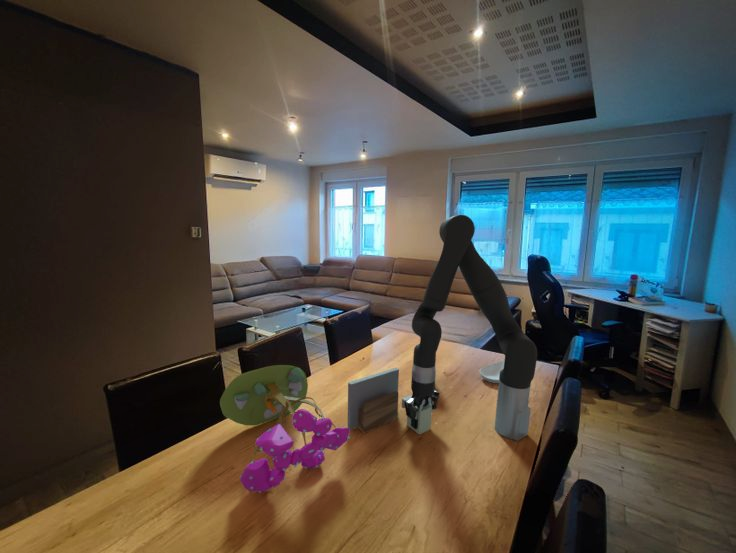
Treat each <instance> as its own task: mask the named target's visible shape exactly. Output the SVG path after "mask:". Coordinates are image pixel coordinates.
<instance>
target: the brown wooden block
mask: <svg viewBox="0 0 736 553" xmlns="http://www.w3.org/2000/svg"><path fill="white" fill-rule="evenodd" d="M398 413H399V391H398V392H397V391H395V392H392V393H390V394H387V395H384V396H381V397H379V398H376V399H373V400H370V401H368V402H365V403H363V407H362V408H360V409H358V427H357V428H358V429H359V430H360V431H361V432H362V433H363V434H365V433H367V432H371V431H373V430H375V429H377V428H379V427H381V426H384V425H386V424H387V425H388V423H390V422H393V421H396V420H398V418H399V417H398Z"/></svg>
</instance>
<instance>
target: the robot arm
mask: <svg viewBox="0 0 736 553" xmlns="http://www.w3.org/2000/svg"><path fill="white" fill-rule="evenodd" d="M438 230H439V236H440V239H441V241H442V242H443V246H442V251H441V252H440V257H439V259H438V262H437V264H436V266H435V268H434V270H433V272H432V274H431V276H430V278H429V281H428V283H427V286H426V289H425V292H424V295H423V299H422V302H420V304H419V305H418V308H417V310H416V312H414V315H413V317H412V320H411V329H412V331H413V333H414V334H415V335H416V336H418V337H419V339H420V342H419V343H418V344H416V345H415V346H414V348H413V355H412V356H413V357H412V358H413V360H412V367H411V382H410V384H411V385H410V386H411V387H410V390H411V391H412V392H411V393H412V394H411V395H412V397H411V399H410V400H409V401H407V400H405V401H404V404H405V408H404V409H405V416H408V417H409V418H411V426H412V427H413V428H414V429H417V428H418V416H419V413H420V411H422V408H423V407H424V406H427V405H428V406H429V407H432V411H431V414H432V413H433V410H436V409H437V406H438V402H439V398H440V392H438V390H436V376H437V374H436V372H437V369H436V362H437V361H436V360H437V358H436V357H437V351H438V349H439V345H440V342H441V338H442V333H443V332H442V327H441V324H440V322H439V321H438V320H436V319H435V316H436V314H437V312H438V313H439V312H443V311H444V309H445V307H446V305H447V301H448V298H449V295H450V292H451V290H452V287H453V286H452V285H453V282H454V280H455V276H456V274H457V271H458V269H459V270H460V273H461V275H462V276H463V279H464V281H465V283H466V284H467V287H468V289H469V291H470V293H471V295H472V297H473V299H474V301H475V303H476V304H477V306H478V307H479V309H480V310H481V312H482V313H483V315H484V317H485V318H486V319H487V321H488V322H489V324H490V325H491V327H492V331H493V332H494V334H495V337H496V340H497V343H498V345H499V348H500V350H501V352H502V353H503V355H504V359H505V361H504V369H502V370H501V371H500V376H499V383H498V388H497V396H496V397H497V399H496V408H495V409H496V410H495V420H494V429H495V431H496V432H497V434H499V435H500V436H502V437H505V438H507V439H510V440H514V441H516V442H519V441H521V440H522V439H523V438H525V437H526V436H528V435H529V427H530V419H531V410H532V409H531V407H530V406H529V402H530V401H529V400H530V394H531V392H530V391H531V386H532V384H531V383H532V382H533V380H534V378H535V373H536V367H537V360H538V350H537V349H538V348H537V346H536V344H535V342H534V341H533V340H531V339H530V338H529V337H528V336H527V335H526V334H525V332H524V331H523V330H522V328H521V327H520V326H519V324H518V323H517V321H516V319H515V317H514V316H513V313H512V310H511V307H510V303H509V299H508V297H507V296H508V295H507V293H506V291H505V288H504V287H503V285H502V282H501V281H500V279H499V278H498V276H497V274H496V273H495V271H494V270H493V269H492V268H491V266H490V265H489V264H488V263H487V262H486V261H485V260H484V259H483V258H482V256H481V255H480V254H479V252H478V251H477V249H476V247H475V245H474V243H473V237H474V235H475V230H476V227H475V223H474V221H473V220H472V218H470V217H469V216H468V215H466V214H455V215H453V216H450V217H448V218H446V219H444V220H443V221H442V222H441V223H440V226H439V229H438ZM416 406H417V407H418V408H416ZM414 410H415V411H416V414H414Z"/></svg>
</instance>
